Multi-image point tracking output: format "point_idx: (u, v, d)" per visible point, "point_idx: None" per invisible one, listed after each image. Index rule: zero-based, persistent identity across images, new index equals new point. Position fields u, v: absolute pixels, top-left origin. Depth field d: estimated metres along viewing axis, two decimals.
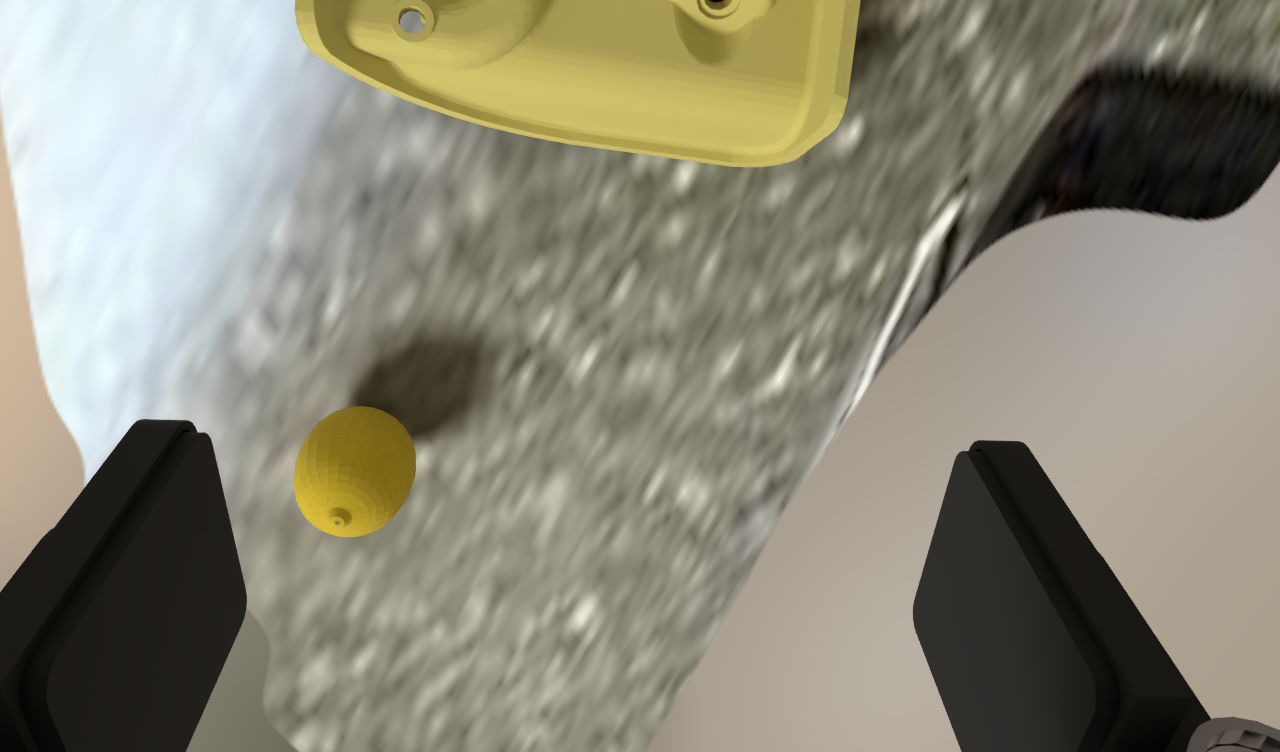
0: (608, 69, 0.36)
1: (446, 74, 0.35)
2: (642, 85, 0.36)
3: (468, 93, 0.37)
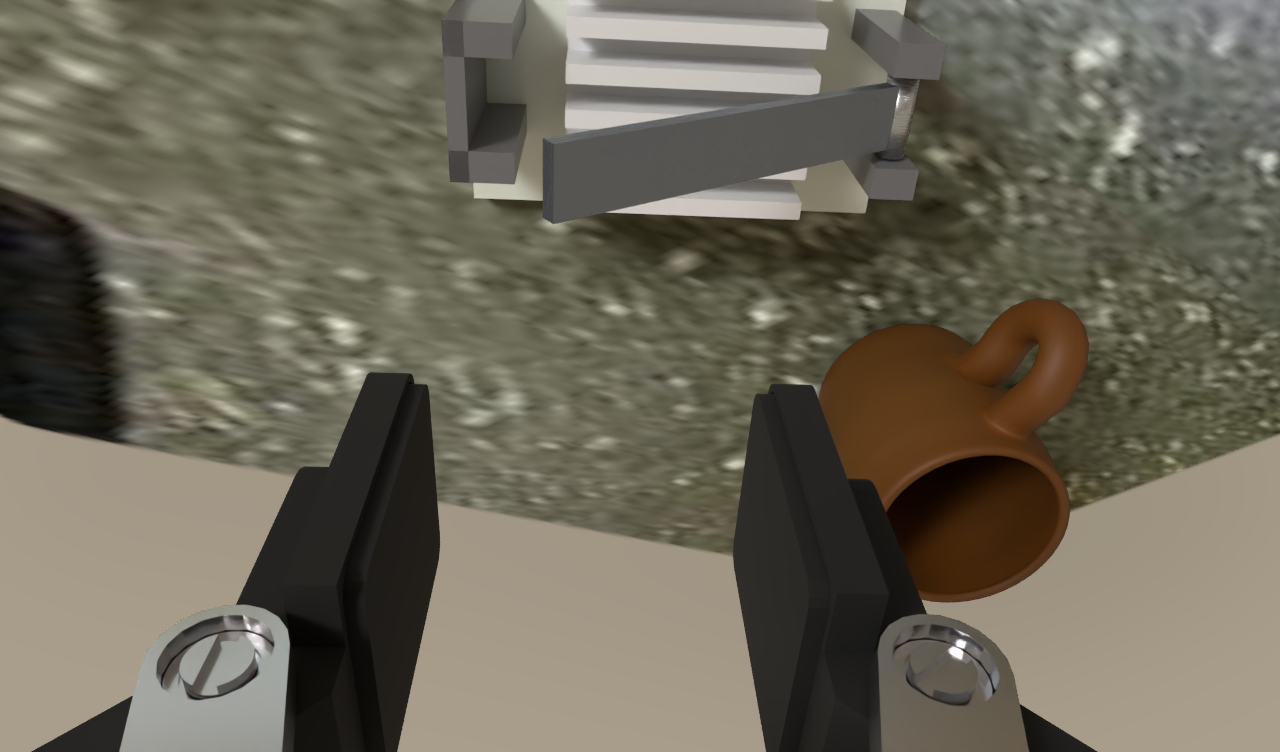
0: None
1: None
2: None
3: None
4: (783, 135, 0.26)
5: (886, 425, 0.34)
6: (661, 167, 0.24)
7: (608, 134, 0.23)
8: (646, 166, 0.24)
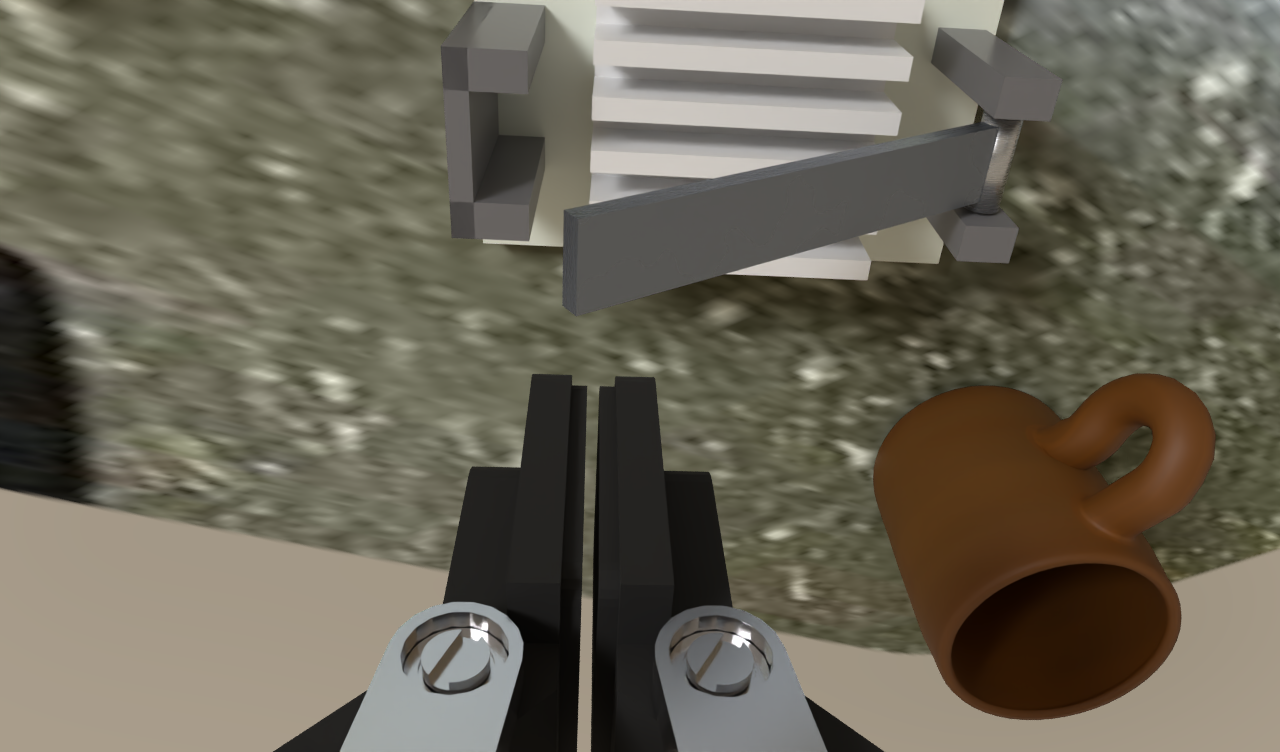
0: None
1: None
2: None
3: None
4: (860, 192, 0.21)
5: (961, 515, 0.29)
6: (713, 238, 0.19)
7: (647, 204, 0.18)
8: (694, 239, 0.19)
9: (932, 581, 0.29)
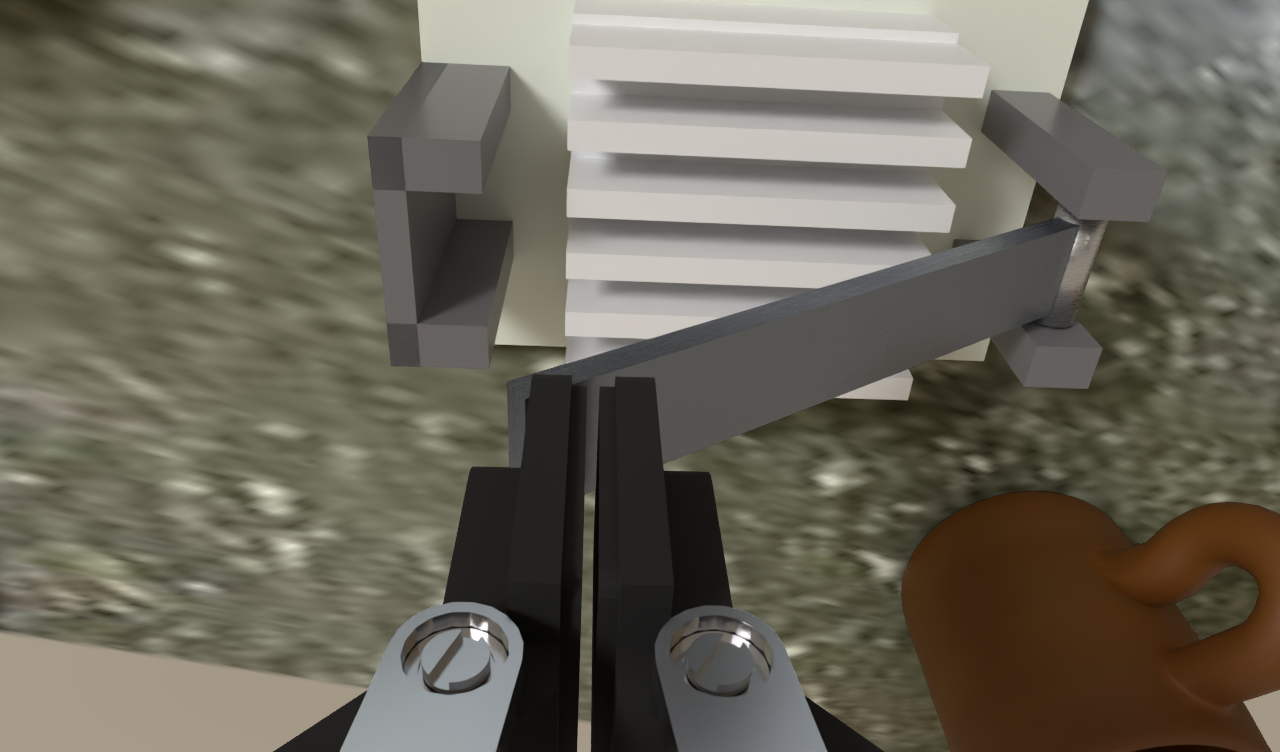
0: None
1: None
2: None
3: None
4: (907, 319, 0.16)
5: (1017, 668, 0.24)
6: (714, 398, 0.14)
7: (624, 368, 0.13)
8: (689, 402, 0.14)
9: (984, 748, 0.24)
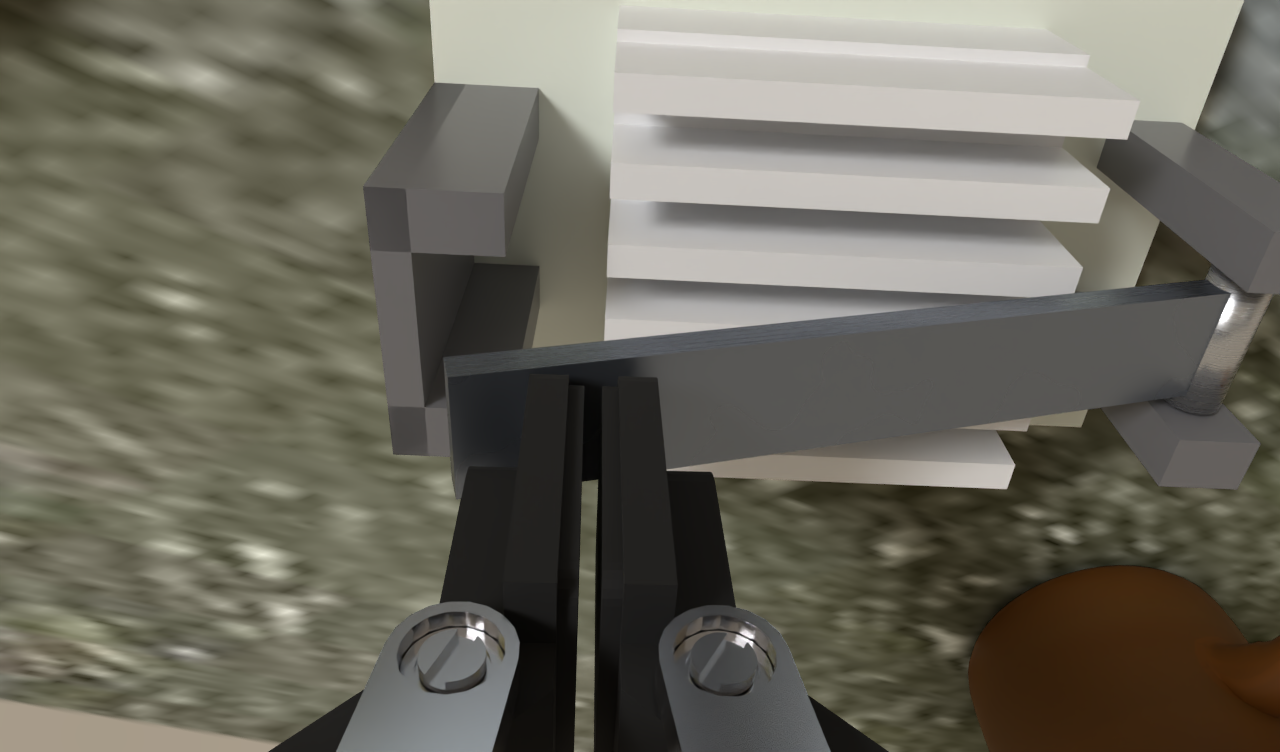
0: None
1: None
2: None
3: None
4: (958, 369, 0.14)
5: None
6: (688, 416, 0.13)
7: (569, 364, 0.12)
8: None
9: None
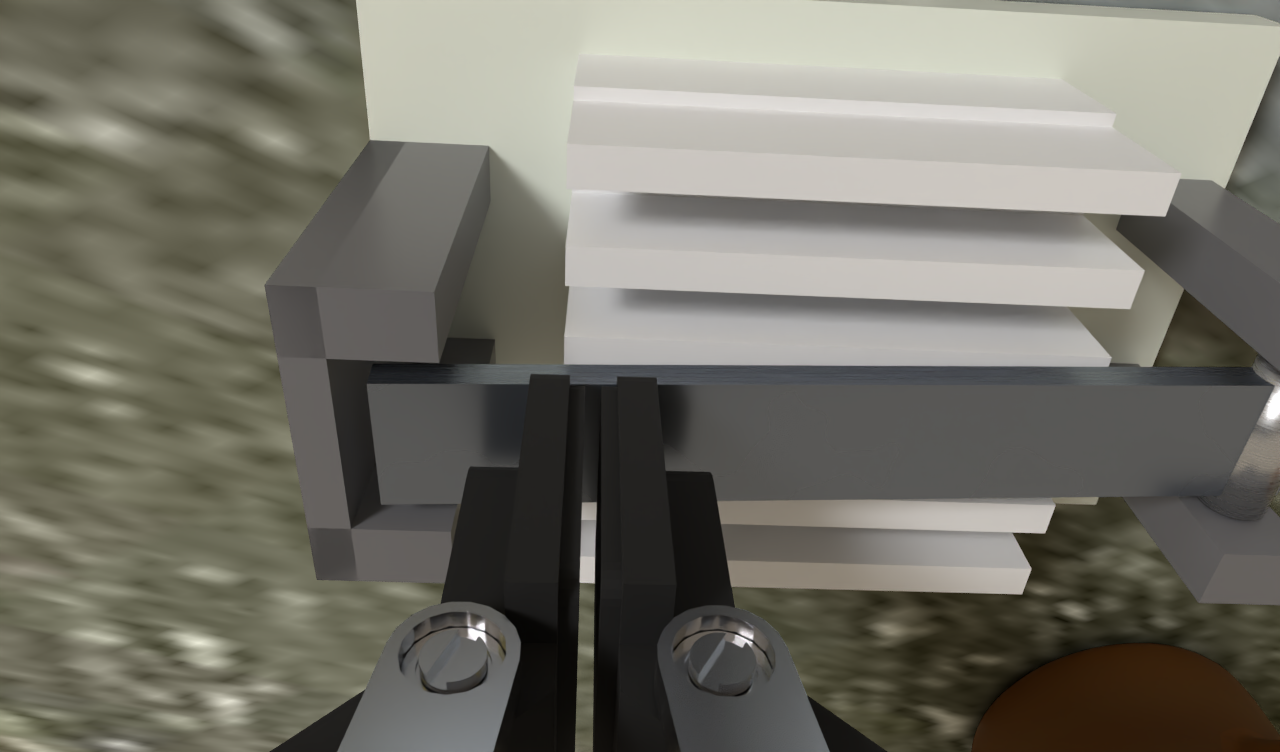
0: None
1: None
2: None
3: None
4: (930, 436, 0.13)
5: None
6: None
7: (490, 384, 0.12)
8: None
9: None
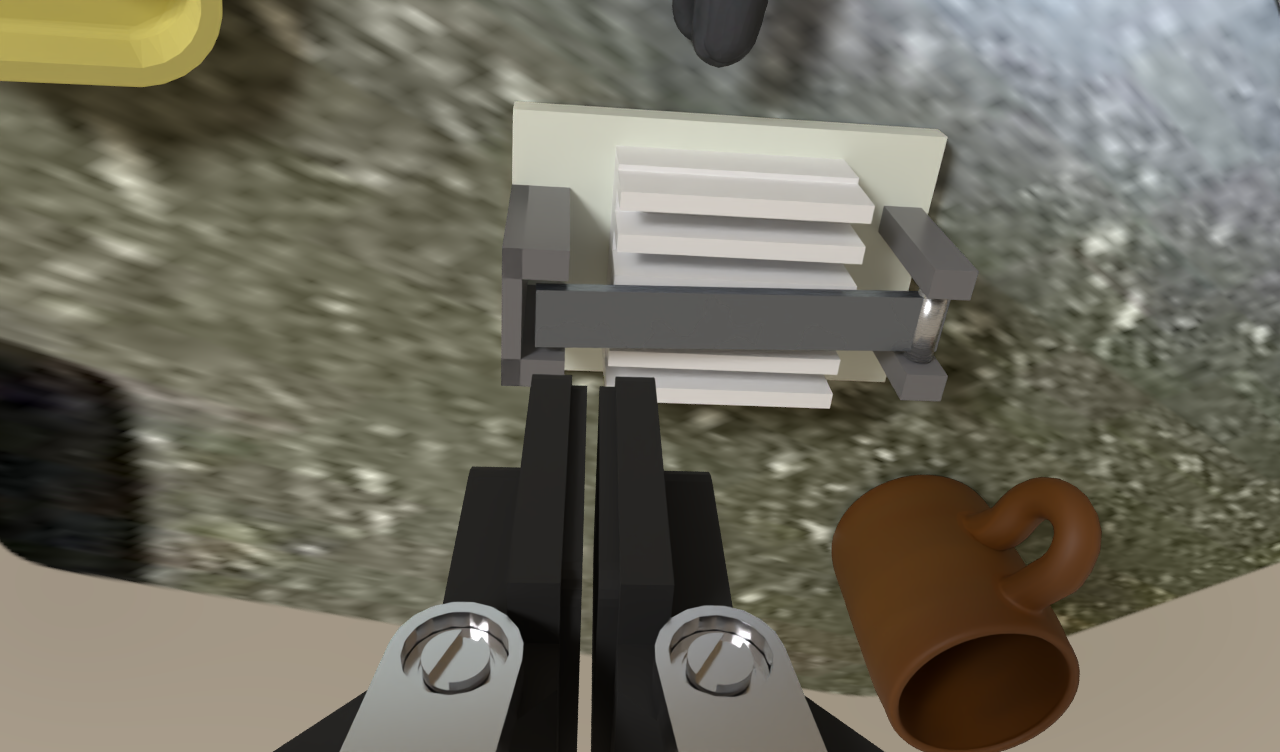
0: None
1: None
2: None
3: None
4: (775, 319, 0.30)
5: (905, 592, 0.36)
6: (640, 323, 0.29)
7: (588, 291, 0.28)
8: (625, 320, 0.29)
9: (882, 646, 0.36)
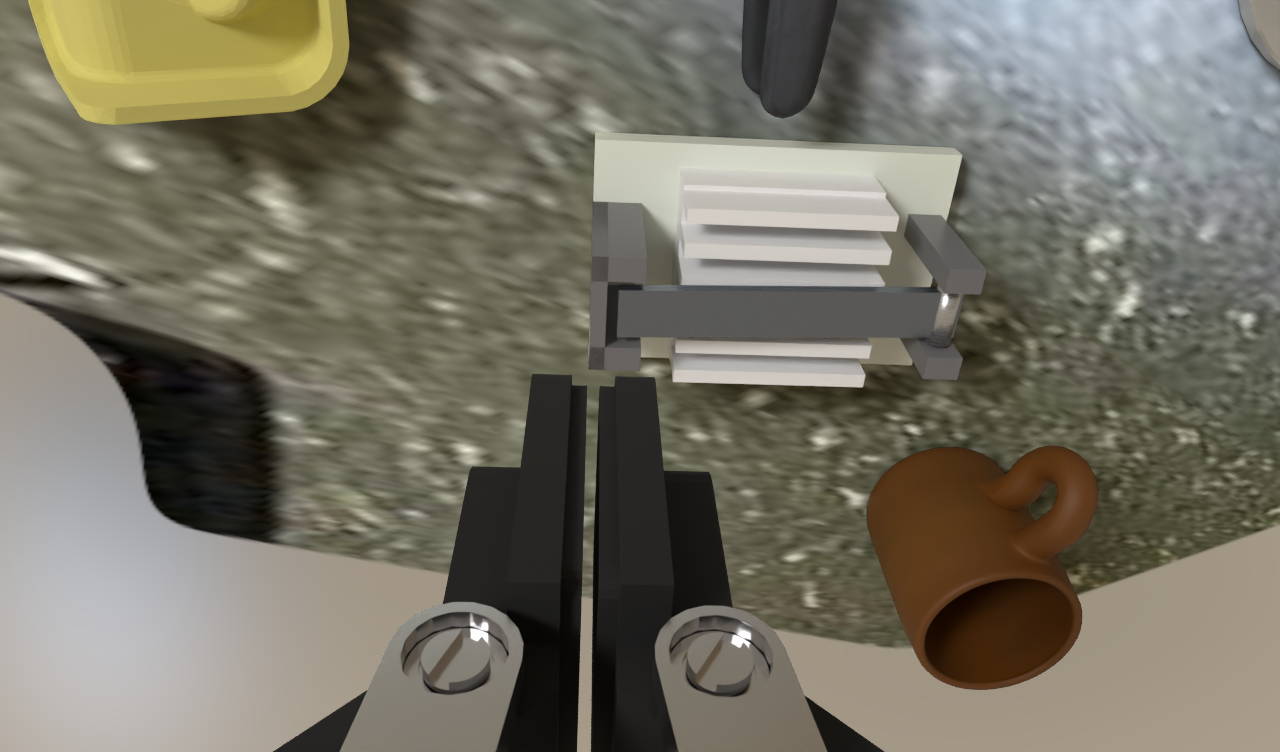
0: None
1: None
2: None
3: None
4: (816, 311, 0.36)
5: (930, 545, 0.41)
6: (704, 316, 0.35)
7: (661, 290, 0.35)
8: (691, 314, 0.35)
9: (910, 592, 0.41)
